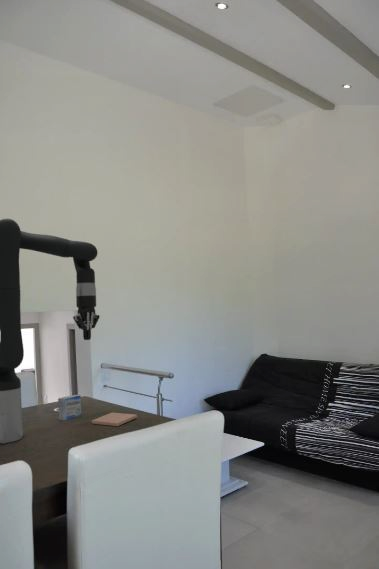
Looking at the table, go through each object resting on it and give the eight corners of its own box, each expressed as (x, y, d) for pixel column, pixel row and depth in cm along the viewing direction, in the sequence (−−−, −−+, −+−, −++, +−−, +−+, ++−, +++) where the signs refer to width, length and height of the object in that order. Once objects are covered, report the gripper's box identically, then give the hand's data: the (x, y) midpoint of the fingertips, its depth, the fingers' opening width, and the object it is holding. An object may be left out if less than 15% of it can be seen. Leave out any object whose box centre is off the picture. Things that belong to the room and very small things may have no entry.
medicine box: (65, 421, 182) (64, 398, 183) (58, 420, 185) (57, 398, 185) (81, 416, 189) (80, 395, 189) (74, 415, 191) (73, 394, 192)
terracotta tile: (117, 423, 168) (137, 414, 179) (91, 420, 174) (111, 412, 185) (117, 426, 168) (137, 417, 179) (91, 423, 174) (112, 415, 185)
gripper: (81, 294, 175) (82, 341, 174) (104, 294, 187) (105, 338, 186) (66, 295, 179) (67, 341, 178) (90, 295, 191) (91, 338, 190)
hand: (87, 339), depth 182 cm, fingers closed
